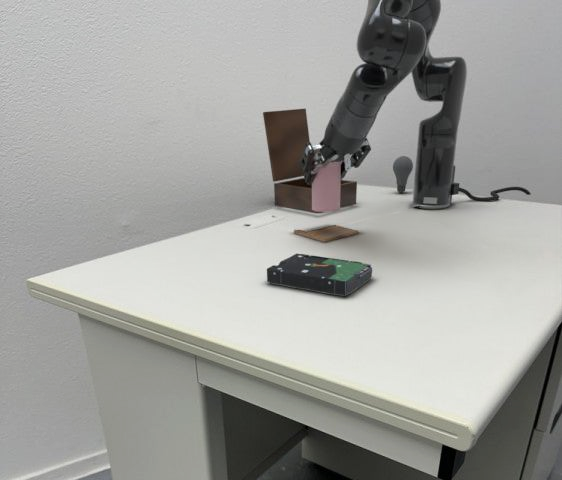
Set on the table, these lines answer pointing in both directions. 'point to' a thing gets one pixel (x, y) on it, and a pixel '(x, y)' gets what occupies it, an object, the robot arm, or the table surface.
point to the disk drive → (320, 274)
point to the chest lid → (286, 142)
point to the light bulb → (402, 171)
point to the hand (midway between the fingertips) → (322, 179)
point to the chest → (309, 194)
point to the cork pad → (327, 233)
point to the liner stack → (327, 188)
